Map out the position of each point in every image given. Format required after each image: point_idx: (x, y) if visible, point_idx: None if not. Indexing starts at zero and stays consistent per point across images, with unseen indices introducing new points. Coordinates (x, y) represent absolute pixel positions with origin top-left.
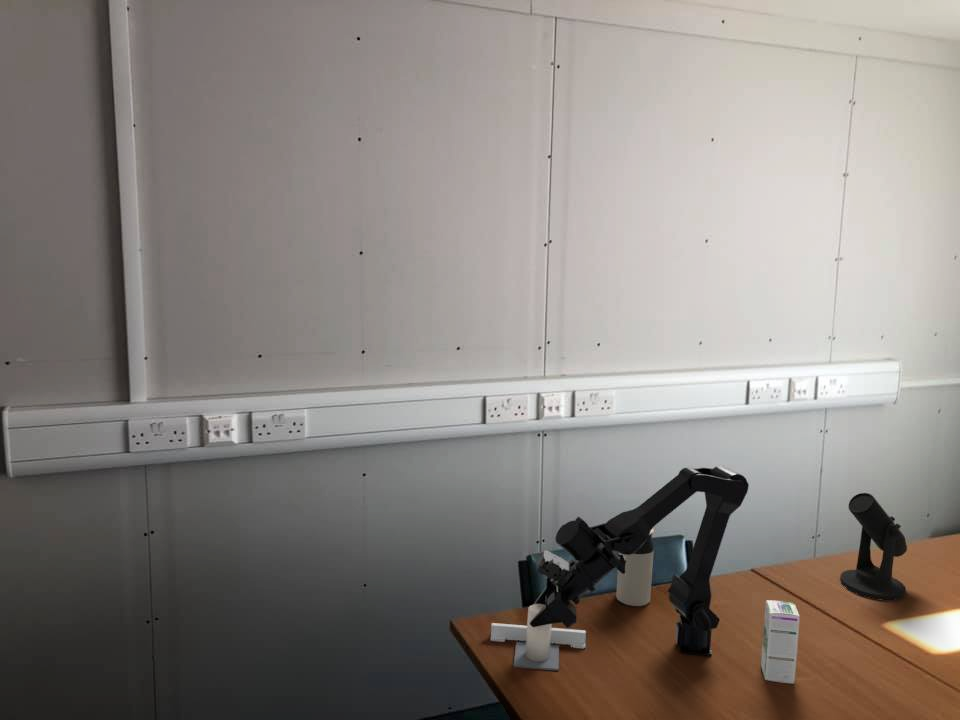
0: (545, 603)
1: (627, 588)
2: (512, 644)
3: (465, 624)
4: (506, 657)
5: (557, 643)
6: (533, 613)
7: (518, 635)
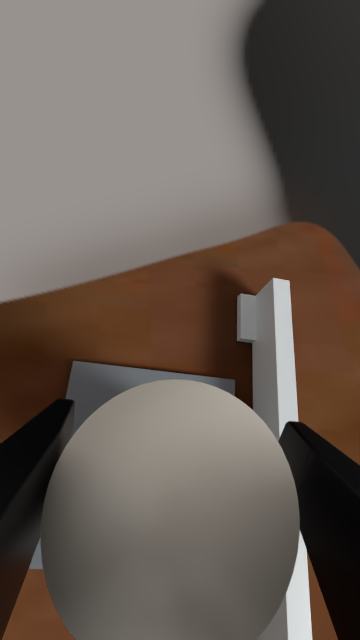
0: (338, 566)
1: None
2: (224, 367)
3: (312, 236)
4: (138, 341)
5: None
6: (106, 427)
7: (261, 386)
